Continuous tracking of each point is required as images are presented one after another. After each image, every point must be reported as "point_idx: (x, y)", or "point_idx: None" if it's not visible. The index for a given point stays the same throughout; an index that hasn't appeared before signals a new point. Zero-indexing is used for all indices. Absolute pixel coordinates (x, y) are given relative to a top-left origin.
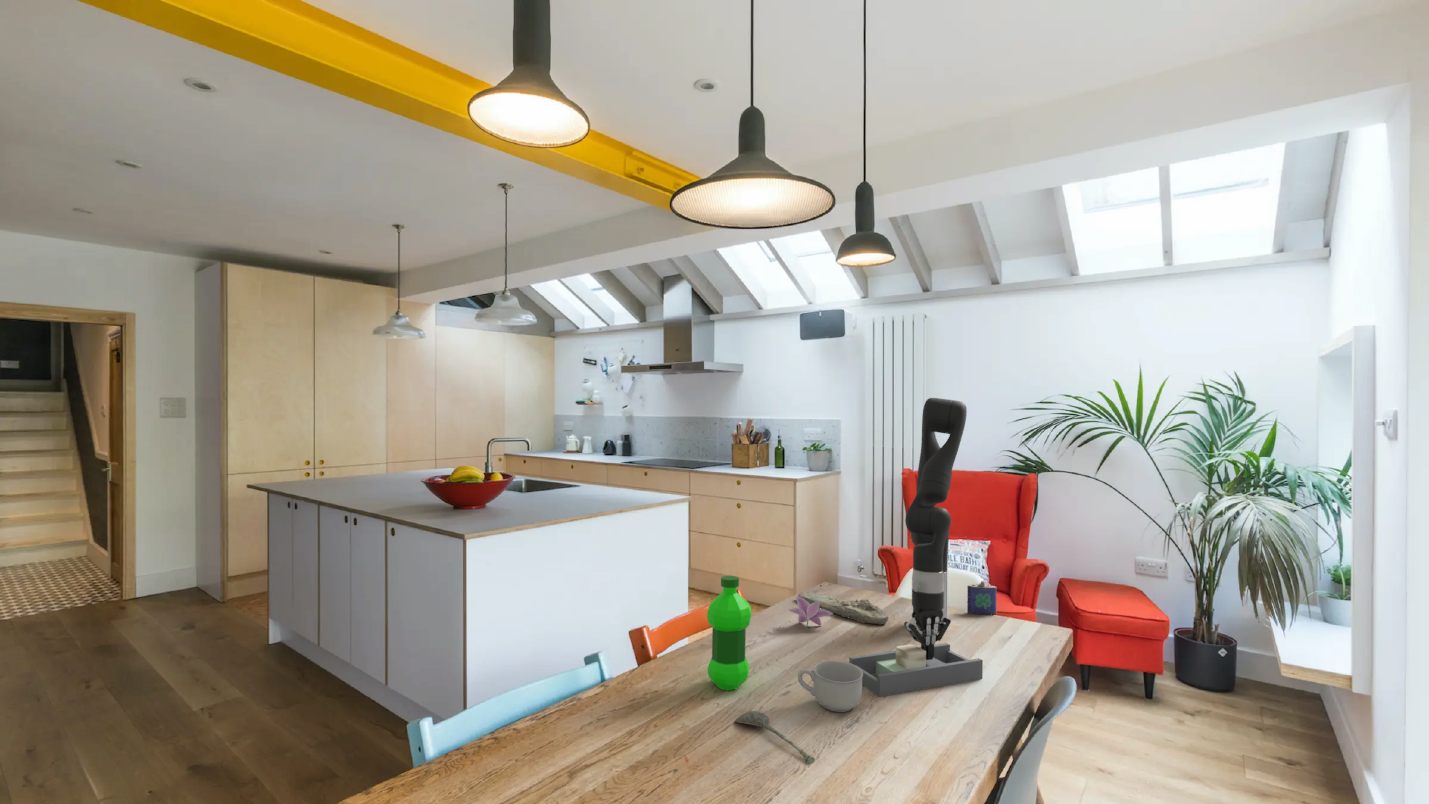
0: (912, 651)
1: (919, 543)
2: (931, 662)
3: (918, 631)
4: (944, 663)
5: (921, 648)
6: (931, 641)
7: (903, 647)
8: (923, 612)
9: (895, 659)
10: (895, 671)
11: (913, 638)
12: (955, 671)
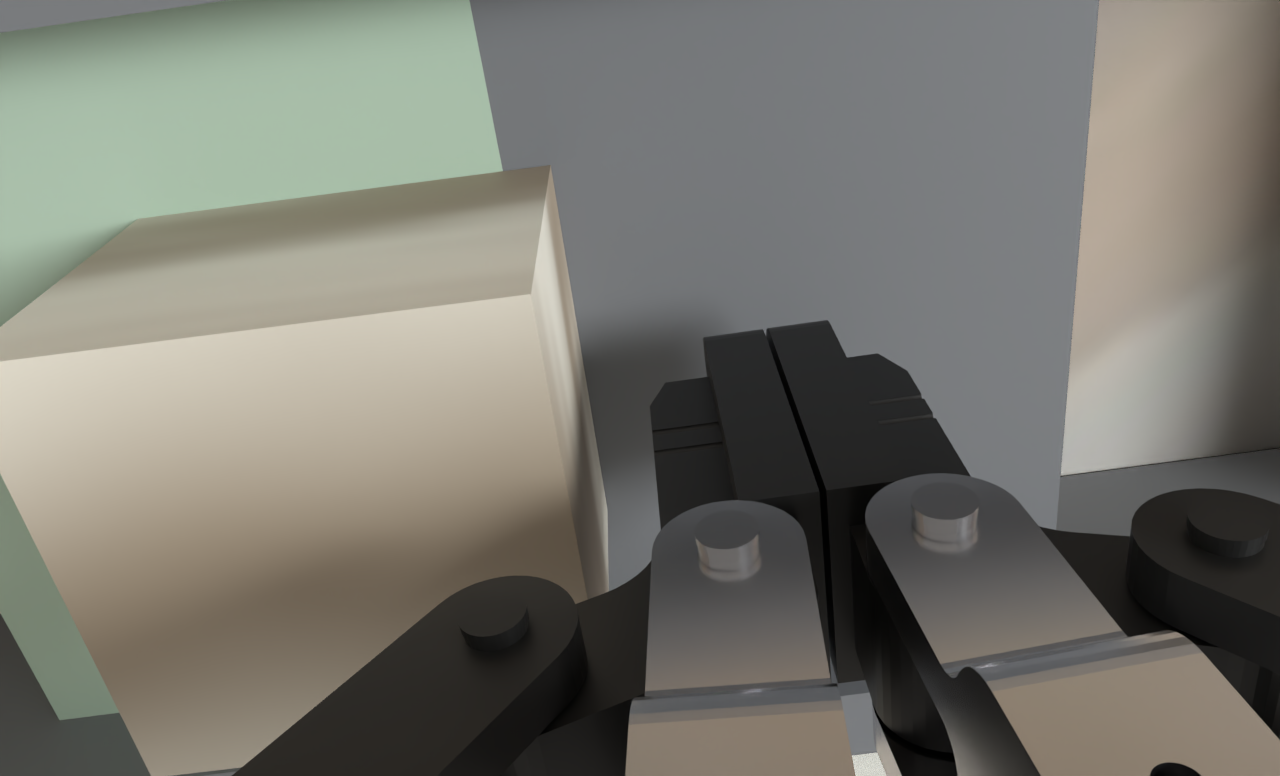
0: (288, 695)
1: None
2: (861, 327)
3: (638, 739)
4: (1054, 407)
5: (659, 491)
6: (880, 758)
7: (156, 461)
8: None
9: (201, 34)
10: (12, 549)
11: (398, 652)
12: None
